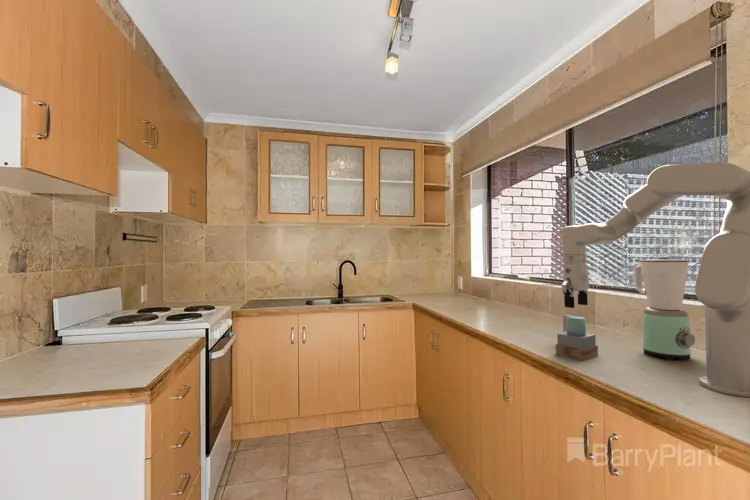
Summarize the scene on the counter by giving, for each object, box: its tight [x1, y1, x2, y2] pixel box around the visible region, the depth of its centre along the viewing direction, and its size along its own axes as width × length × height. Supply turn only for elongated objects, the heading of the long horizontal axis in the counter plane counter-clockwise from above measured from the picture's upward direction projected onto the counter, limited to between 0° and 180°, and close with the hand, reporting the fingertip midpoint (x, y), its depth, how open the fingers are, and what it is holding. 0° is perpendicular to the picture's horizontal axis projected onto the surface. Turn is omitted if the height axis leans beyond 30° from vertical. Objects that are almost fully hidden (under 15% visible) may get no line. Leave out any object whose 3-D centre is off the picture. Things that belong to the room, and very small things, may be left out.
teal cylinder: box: [566, 316, 587, 336], centre depth 127 cm, size 6×6×6 cm
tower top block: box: [556, 331, 597, 350], centre depth 127 cm, size 9×9×4 cm
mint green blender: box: [633, 256, 696, 362], centre depth 124 cm, size 19×13×35 cm
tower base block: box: [555, 343, 599, 361], centre depth 127 cm, size 10×10×4 cm
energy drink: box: [562, 313, 578, 332], centre depth 140 cm, size 5×5×12 cm
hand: (576, 306), depth 127 cm, fingers open, 9 cm apart
